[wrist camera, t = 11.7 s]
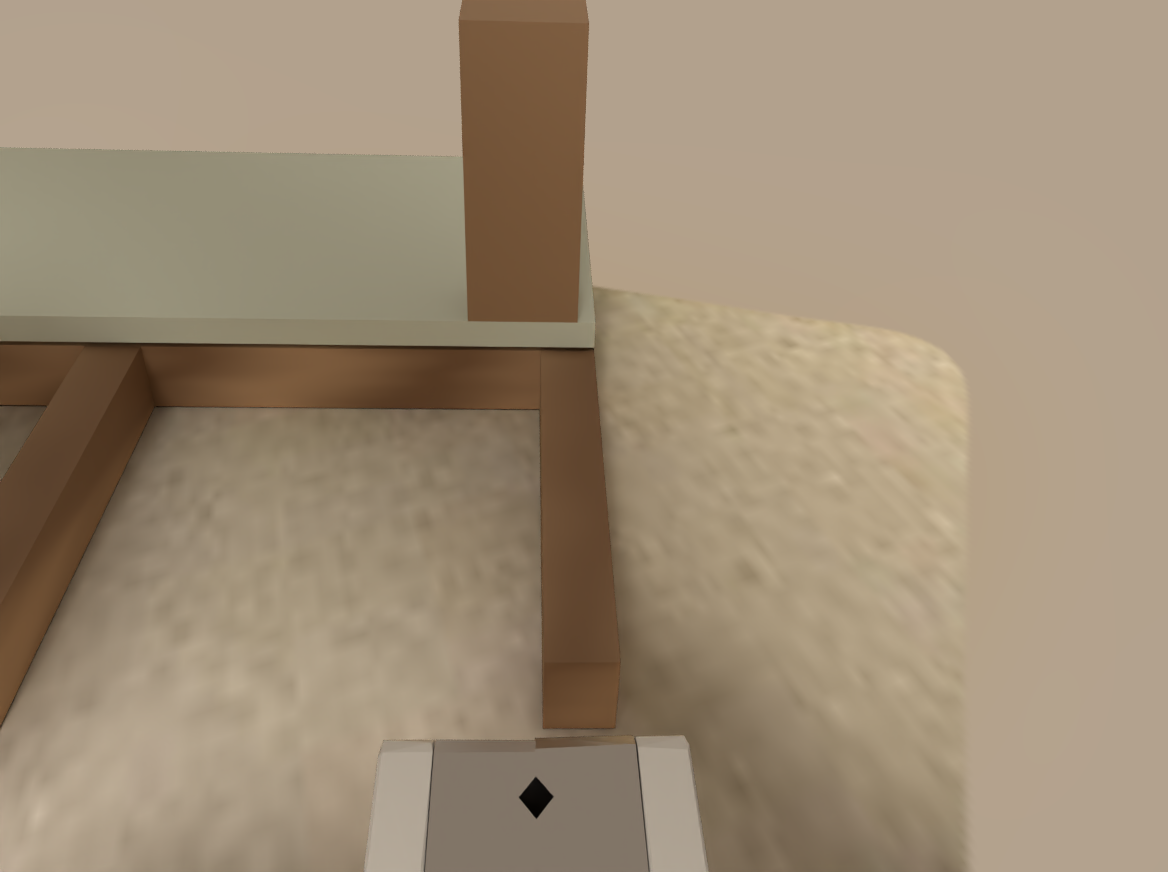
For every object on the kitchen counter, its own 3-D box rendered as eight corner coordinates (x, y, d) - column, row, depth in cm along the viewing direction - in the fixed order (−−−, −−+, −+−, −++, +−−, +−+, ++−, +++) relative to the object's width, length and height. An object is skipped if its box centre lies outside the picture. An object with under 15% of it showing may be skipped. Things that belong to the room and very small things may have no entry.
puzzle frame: (-578, 736, 22) (-642, 667, 20) (-216, 373, 32) (-244, 313, 31) (615, 727, 23) (620, 661, 22) (588, 381, 33) (591, 324, 32)
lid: (-281, 338, 29) (-454, -5, 24) (-87, 167, 39) (-181, -108, 33) (594, 347, 31) (610, 24, 25) (579, 180, 40) (589, -83, 35)
